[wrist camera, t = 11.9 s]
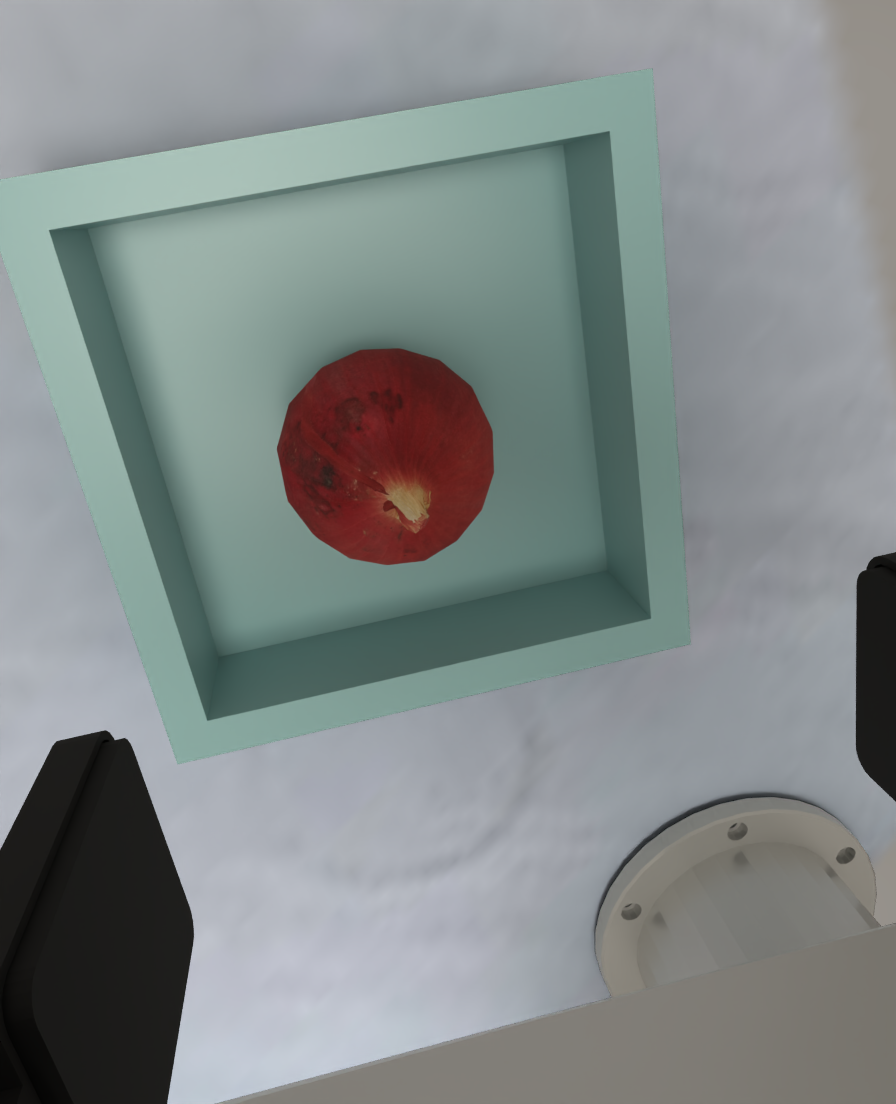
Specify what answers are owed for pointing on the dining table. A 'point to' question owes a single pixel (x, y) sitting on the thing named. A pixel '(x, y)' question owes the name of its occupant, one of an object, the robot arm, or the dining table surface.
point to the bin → (335, 332)
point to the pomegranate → (386, 456)
